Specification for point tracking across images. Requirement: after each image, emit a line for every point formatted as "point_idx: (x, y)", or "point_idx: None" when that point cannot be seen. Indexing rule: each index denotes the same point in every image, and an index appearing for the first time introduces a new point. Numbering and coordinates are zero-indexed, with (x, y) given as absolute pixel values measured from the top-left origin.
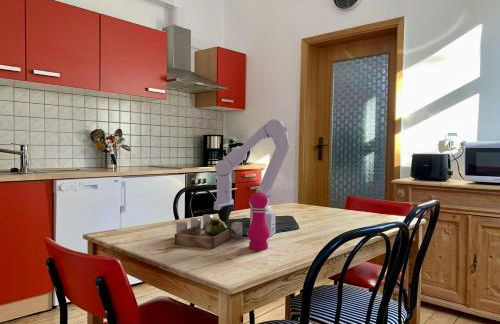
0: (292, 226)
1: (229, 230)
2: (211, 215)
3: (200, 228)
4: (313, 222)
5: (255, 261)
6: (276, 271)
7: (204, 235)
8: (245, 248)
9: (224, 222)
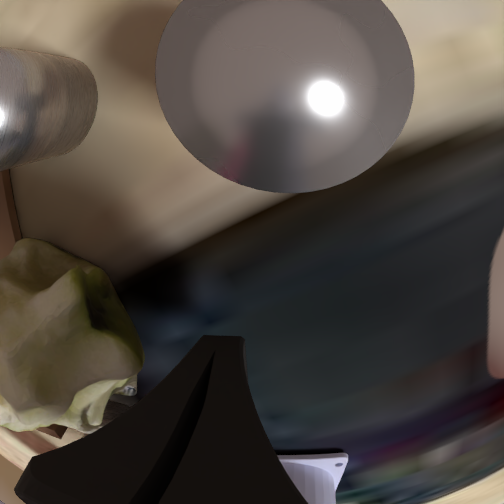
0: (449, 488)
1: (54, 433)
2: (315, 152)
3: (29, 162)
4: (499, 483)
5: (11, 448)
6: (14, 464)
7: (11, 250)
8: (46, 442)
9: (85, 432)
